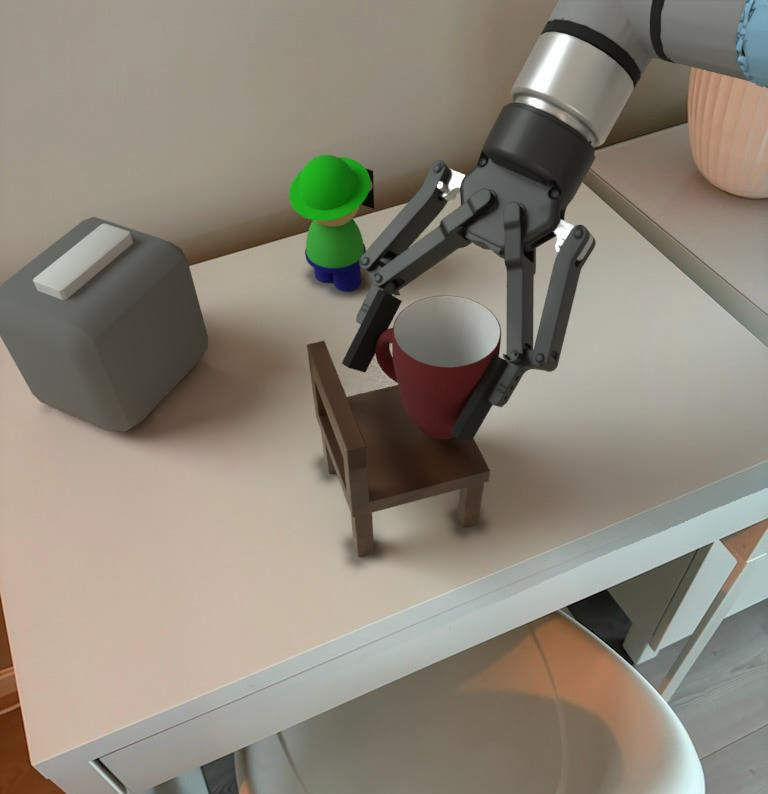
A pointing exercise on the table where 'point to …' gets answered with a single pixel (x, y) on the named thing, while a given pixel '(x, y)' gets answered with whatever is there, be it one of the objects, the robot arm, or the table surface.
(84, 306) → the alarm clock
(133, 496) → the table surface
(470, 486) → the chair
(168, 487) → the table surface
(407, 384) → the mug
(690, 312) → the table surface
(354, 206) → the toy
